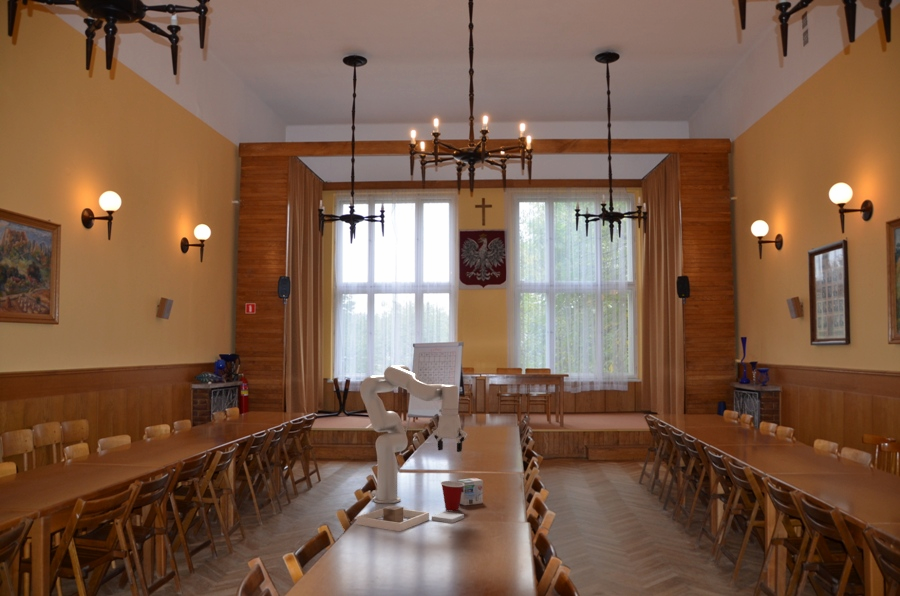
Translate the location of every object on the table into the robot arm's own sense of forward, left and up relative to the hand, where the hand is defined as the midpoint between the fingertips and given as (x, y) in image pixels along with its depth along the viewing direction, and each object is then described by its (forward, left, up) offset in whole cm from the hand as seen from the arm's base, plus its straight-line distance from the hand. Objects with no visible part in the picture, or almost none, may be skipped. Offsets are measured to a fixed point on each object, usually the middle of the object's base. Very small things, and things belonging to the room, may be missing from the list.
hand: (449, 450), depth 317 cm
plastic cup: (+1, +2, -26) cm, 26 cm away
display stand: (+8, -14, -26) cm, 31 cm away
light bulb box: (+1, +18, -26) cm, 32 cm away
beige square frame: (-9, -30, -26) cm, 41 cm away
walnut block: (-9, -30, -26) cm, 41 cm away
